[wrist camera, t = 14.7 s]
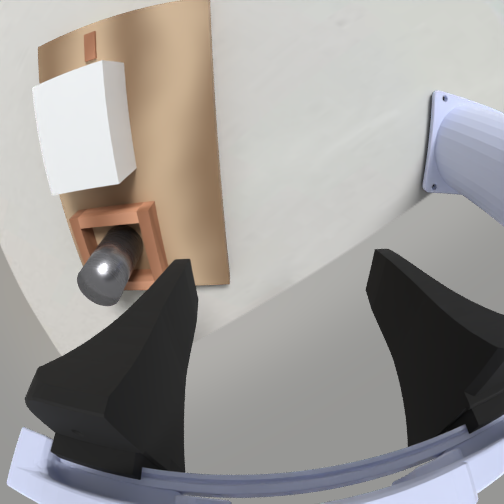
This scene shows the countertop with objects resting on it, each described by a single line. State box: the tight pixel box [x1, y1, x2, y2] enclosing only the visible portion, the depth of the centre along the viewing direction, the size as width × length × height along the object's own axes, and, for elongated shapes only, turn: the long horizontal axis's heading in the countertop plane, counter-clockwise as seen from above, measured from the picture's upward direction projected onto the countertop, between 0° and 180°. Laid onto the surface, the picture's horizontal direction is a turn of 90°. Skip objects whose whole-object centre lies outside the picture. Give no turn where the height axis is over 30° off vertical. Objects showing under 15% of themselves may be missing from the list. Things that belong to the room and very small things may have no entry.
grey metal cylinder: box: [77, 225, 143, 306], centre depth 17 cm, size 3×3×5 cm
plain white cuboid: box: [32, 60, 137, 196], centre depth 14 cm, size 5×7×3 cm
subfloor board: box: [38, 0, 230, 290], centre depth 16 cm, size 12×20×2 cm, turn 2°
